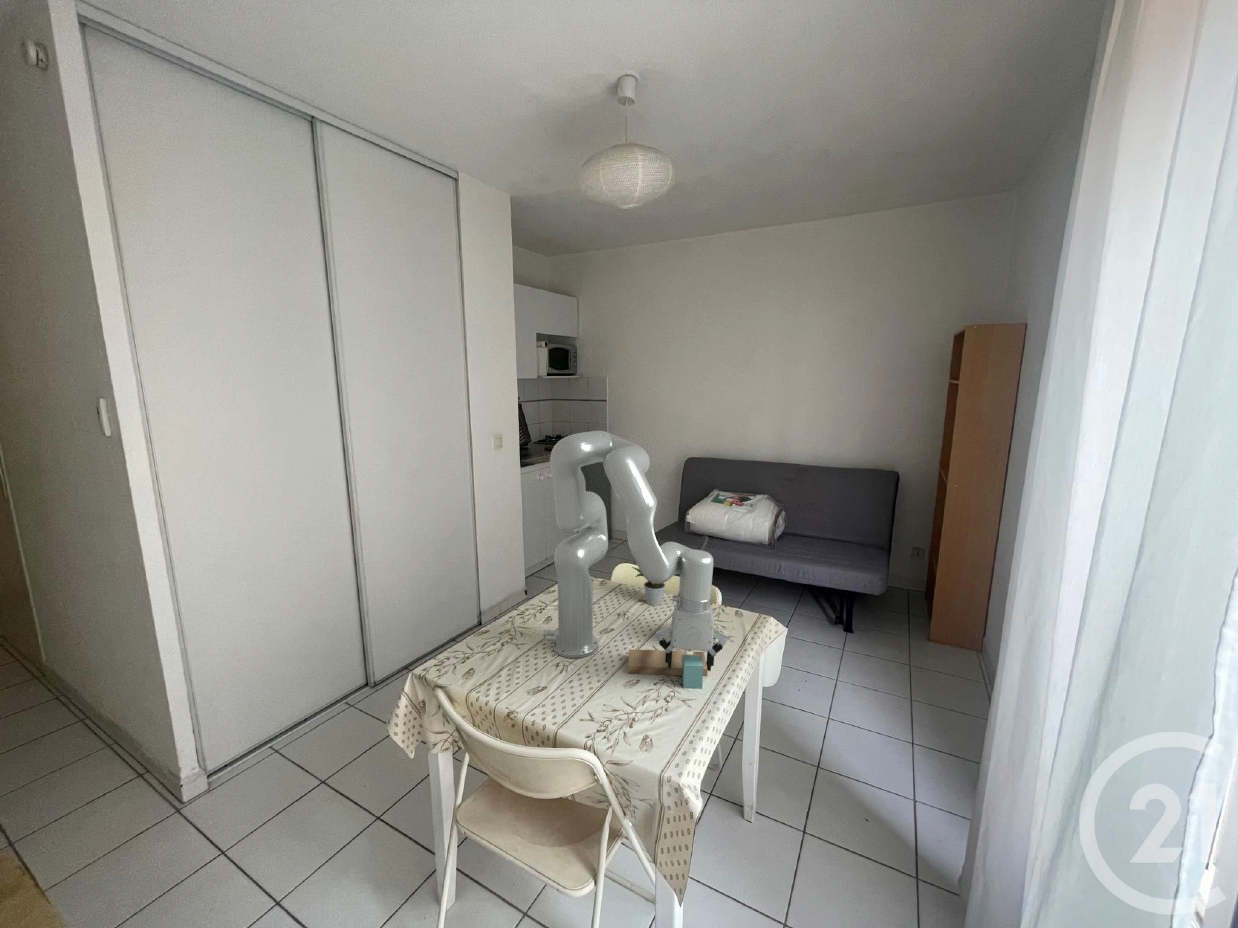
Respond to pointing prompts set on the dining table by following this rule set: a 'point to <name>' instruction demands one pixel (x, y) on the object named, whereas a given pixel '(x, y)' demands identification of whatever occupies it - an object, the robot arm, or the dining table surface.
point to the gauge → (692, 671)
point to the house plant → (652, 591)
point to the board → (658, 662)
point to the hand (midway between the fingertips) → (688, 666)
